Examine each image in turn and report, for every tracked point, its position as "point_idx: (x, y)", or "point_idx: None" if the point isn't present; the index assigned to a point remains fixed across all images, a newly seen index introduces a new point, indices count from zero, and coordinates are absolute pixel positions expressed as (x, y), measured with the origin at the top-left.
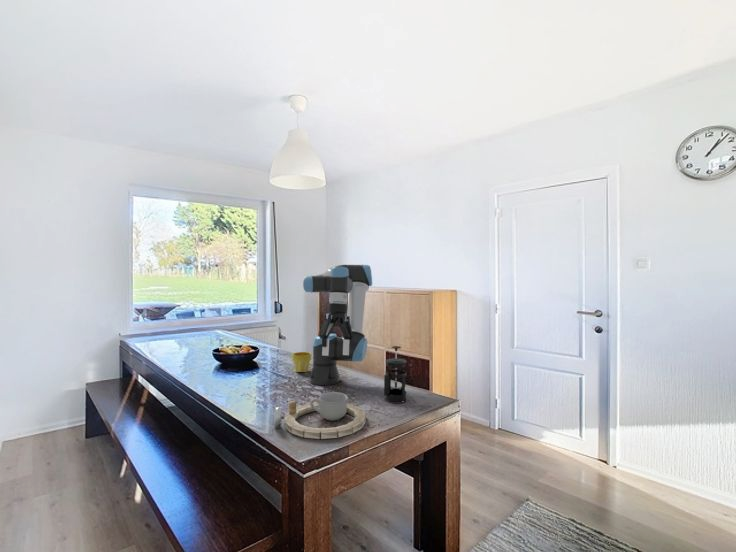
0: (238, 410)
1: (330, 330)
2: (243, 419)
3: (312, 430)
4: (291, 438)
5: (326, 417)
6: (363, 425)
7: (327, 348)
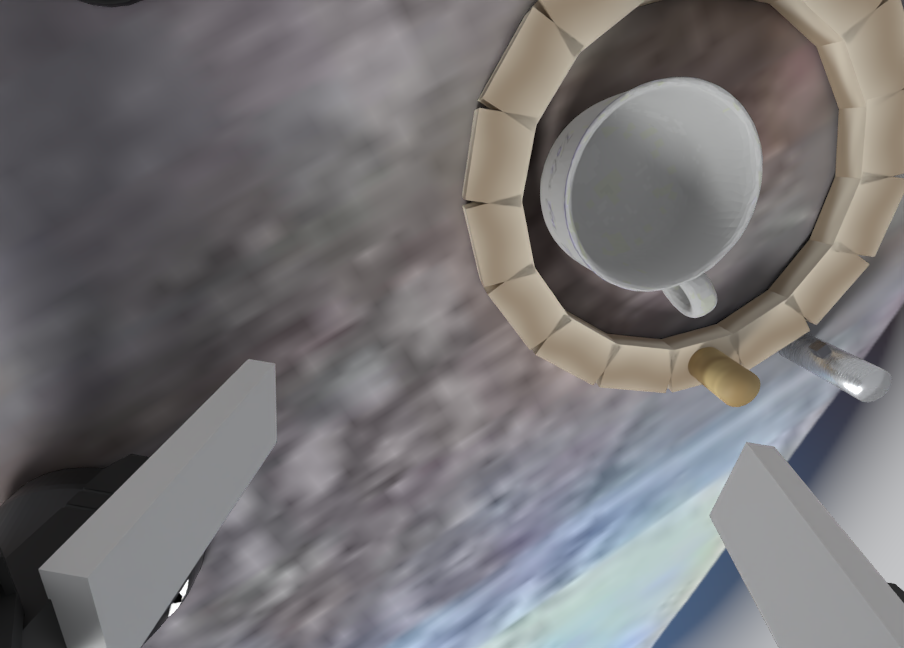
0: (666, 577)
1: None
2: None
3: (897, 138)
4: None
5: (686, 183)
6: None
7: (843, 532)
